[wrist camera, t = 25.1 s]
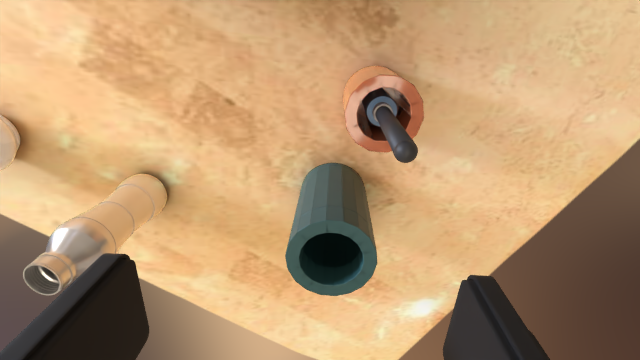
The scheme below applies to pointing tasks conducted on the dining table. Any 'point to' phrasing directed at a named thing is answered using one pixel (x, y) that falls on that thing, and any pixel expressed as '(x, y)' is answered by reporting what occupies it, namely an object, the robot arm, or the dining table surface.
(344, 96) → the crock
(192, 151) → the dining table surface
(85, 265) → the metal bottle
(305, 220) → the teal hollow cylinder
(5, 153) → the flower vase
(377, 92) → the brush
